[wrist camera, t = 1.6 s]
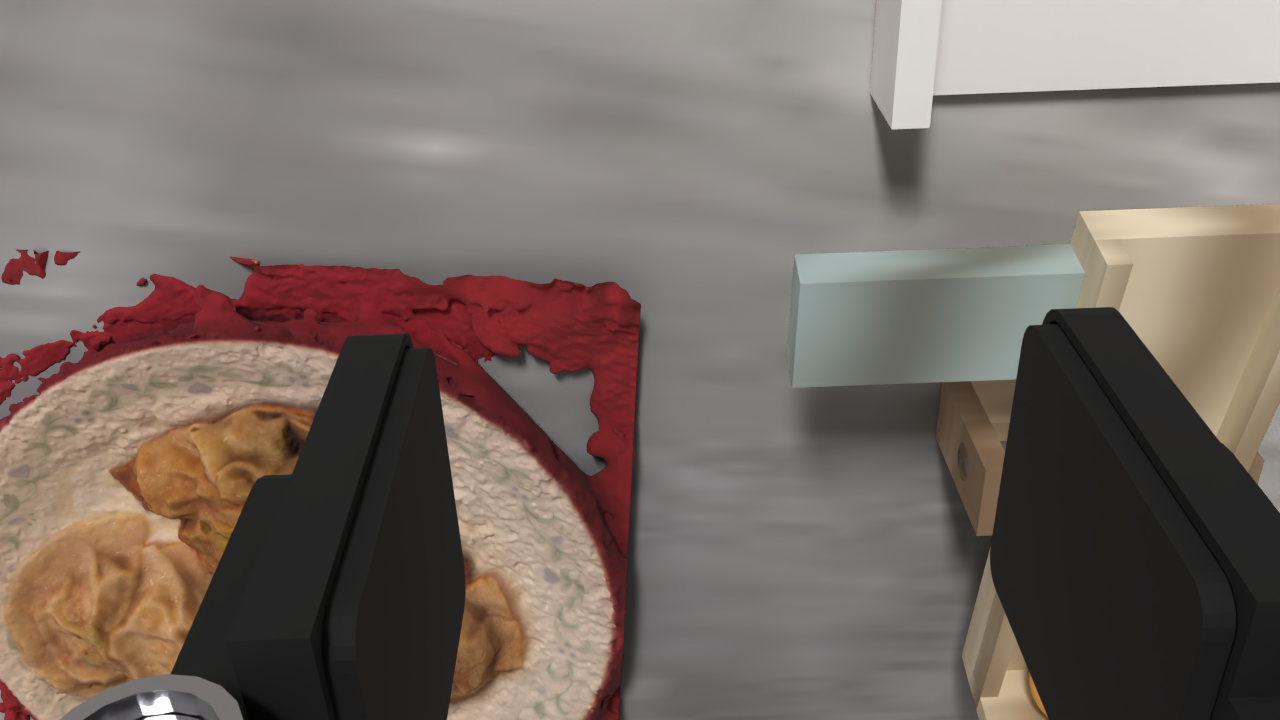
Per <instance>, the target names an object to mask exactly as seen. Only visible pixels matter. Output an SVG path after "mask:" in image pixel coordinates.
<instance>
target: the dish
mask: <svg viewBox="0 0 1280 720" xmlns="http://www.w3.org/2000/svg"><path fill="white" fill-rule="evenodd" d="M1274 82H1280V0H876V15H875V29H874V44H873V58H872V73H871V87H870V94H871V96H872V97H873V99H874V101H875V102H876V104H877V106H878V107H879V109H880V111H881V112H882V114H883V116H884V118H885V119H886V121H887V123H888V124H889V126H890V128H891V129H916V128H930V120H931V109H932V99H933V95H956V94H983V93H1009V92H1036V91H1062V90H1089V89H1115V88H1141V87H1168V86H1194V85H1221V84H1247V83H1274Z"/></svg>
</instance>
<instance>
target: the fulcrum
mask: <svg viewBox="0 0 1280 720" xmlns="http://www.w3.org/2000/svg"><path fill="white" fill-rule="evenodd" d="M1015 384H1016V379H1013V380H986V381H960V382H942V386H941V394H940V403H939V412H938V420H937V429H936V439H937V442H938V444H939V446H940V449H941V451H942V454H943V456H944V459H945V461H946V463H947V466H948V468H949V471H950V473H951V475H952V478H953V480H954V483H955V485H956V488H957V490H958V492H959V495H960V497H961V500H962V502H963V504H964V507H965V509H966V512H967V514H968V517H969V519H970V521H971V524H972V526H973V529H974V531H975V533H976V536H990V535H992V534H993V527H994V521H995V514H996V508H997V501H998V495H999V488H1000V482H1001V475H1002V469H1003V462H1004V456H1005V449H1006V443H1007V436H1008V430H1009V423H1010V417H1011V410H1012V404H1013V397H1014V391H1015ZM1263 463H1264V459H1263V458H1262V456H1261V455H1260V454H1259V453H1258V452H1257V453H1256V455H1255V457H1254V459H1253V462H1252V464H1251V466H1250V468H1249V470H1248V473H1249V474H1250V476H1251V477H1252V478H1253V480H1254V481H1255V482H1256V483H1257V484H1258V480H1259V477H1260V474H1261V470H1262V467H1263Z"/></svg>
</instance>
